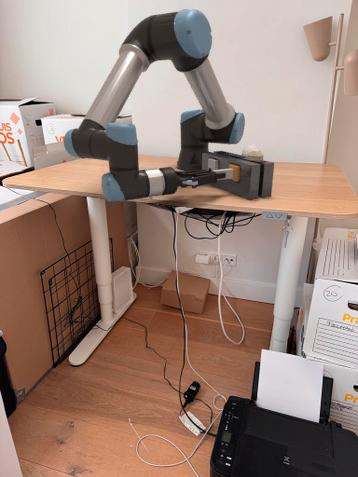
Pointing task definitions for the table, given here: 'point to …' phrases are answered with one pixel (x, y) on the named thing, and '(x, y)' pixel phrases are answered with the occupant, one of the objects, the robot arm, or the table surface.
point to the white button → (213, 164)
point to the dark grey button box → (243, 174)
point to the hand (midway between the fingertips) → (232, 173)
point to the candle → (256, 155)
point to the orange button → (235, 172)
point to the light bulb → (249, 149)
